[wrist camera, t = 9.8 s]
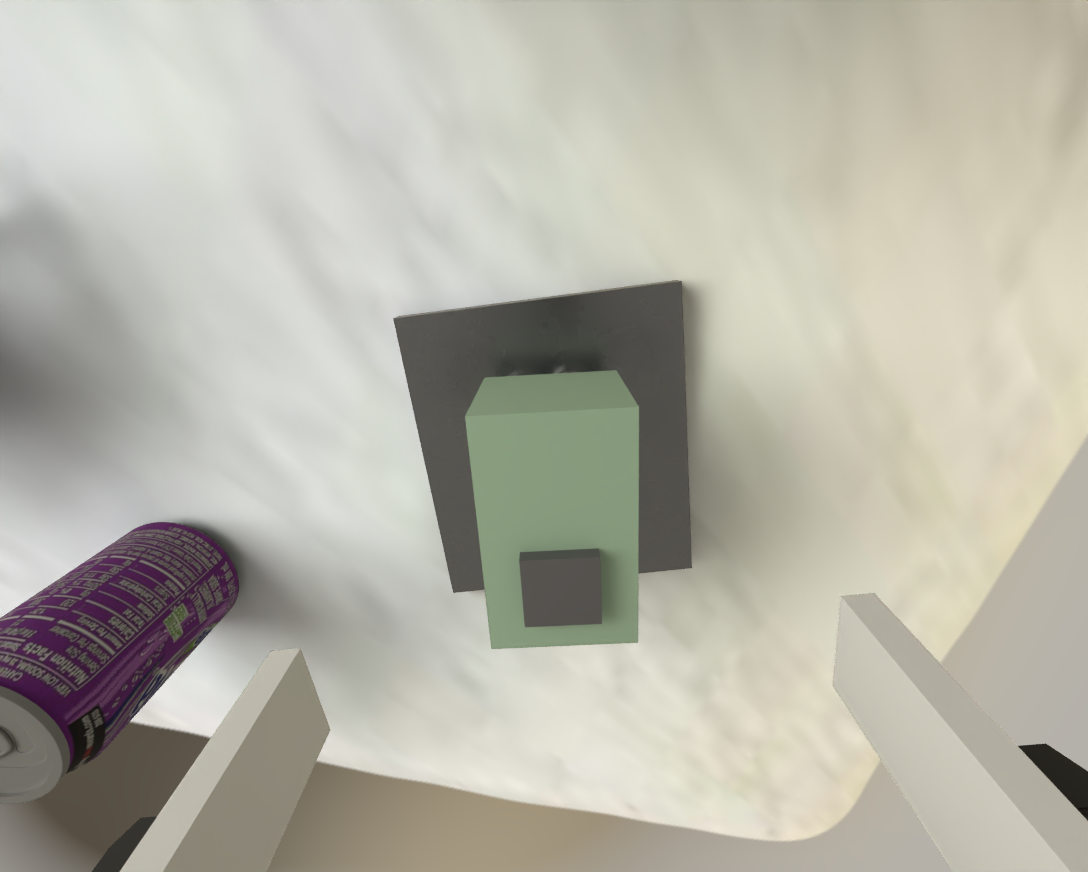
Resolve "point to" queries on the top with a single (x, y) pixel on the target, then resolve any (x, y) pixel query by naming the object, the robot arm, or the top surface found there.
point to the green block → (557, 507)
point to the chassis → (549, 348)
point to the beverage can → (102, 649)
